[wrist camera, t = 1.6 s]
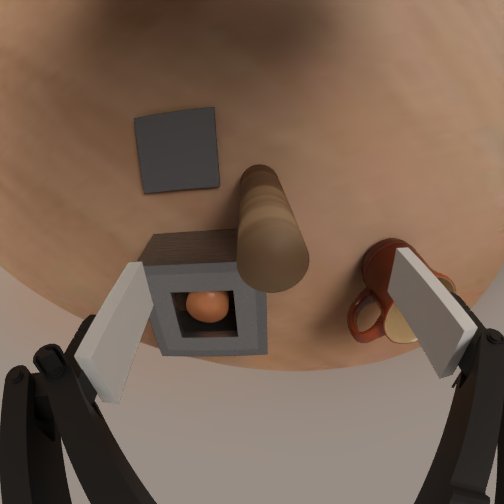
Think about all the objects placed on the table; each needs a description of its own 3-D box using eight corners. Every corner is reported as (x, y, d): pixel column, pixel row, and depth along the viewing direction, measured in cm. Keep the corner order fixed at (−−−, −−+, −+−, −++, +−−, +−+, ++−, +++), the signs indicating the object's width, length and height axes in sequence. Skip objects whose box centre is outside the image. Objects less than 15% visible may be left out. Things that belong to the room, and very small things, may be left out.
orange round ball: (187, 273, 31) (182, 289, 29) (227, 272, 31) (226, 288, 29) (193, 305, 34) (189, 322, 31) (231, 304, 34) (230, 321, 31)
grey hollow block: (153, 234, 32) (134, 266, 26) (261, 227, 32) (265, 260, 26) (172, 317, 38) (162, 355, 31) (264, 314, 38) (267, 354, 31)
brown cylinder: (239, 165, 29) (233, 231, 14) (277, 163, 29) (310, 227, 14) (241, 201, 30) (239, 294, 16) (278, 199, 30) (307, 290, 16)
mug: (402, 215, 31) (449, 258, 22) (421, 266, 35) (460, 314, 26) (318, 268, 34) (341, 326, 25) (347, 312, 38) (370, 369, 29)
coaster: (136, 118, 26) (134, 118, 25) (214, 107, 26) (213, 107, 25) (146, 191, 30) (144, 193, 29) (220, 184, 29) (219, 186, 29)
